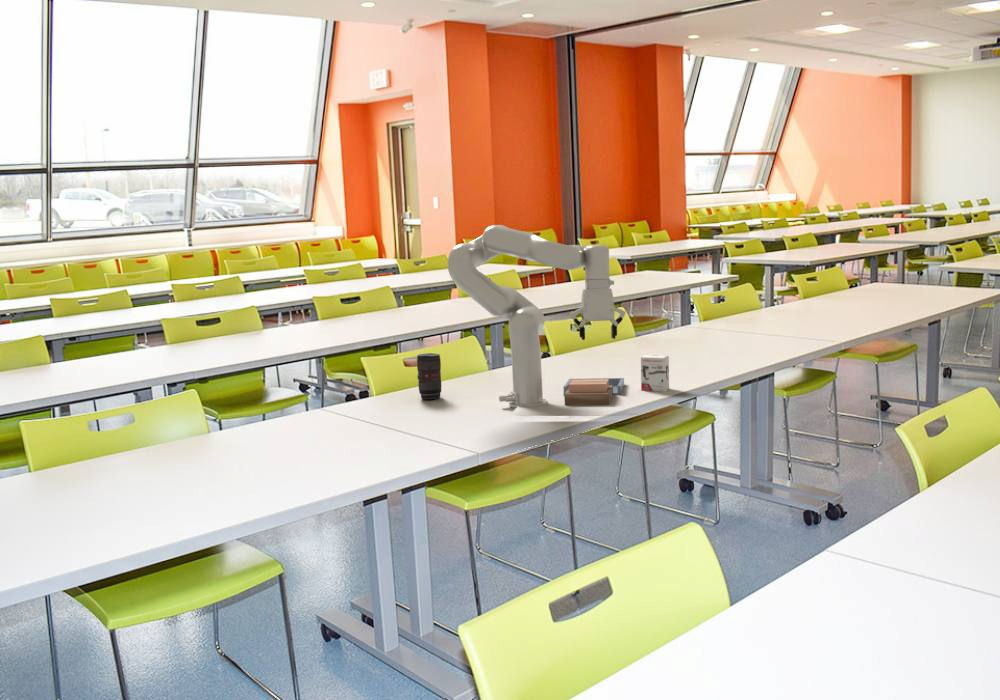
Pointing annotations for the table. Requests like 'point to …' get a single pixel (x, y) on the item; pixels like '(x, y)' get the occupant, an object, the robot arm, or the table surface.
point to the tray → (612, 381)
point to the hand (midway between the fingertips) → (598, 338)
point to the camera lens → (429, 375)
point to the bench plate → (589, 397)
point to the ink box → (655, 373)
